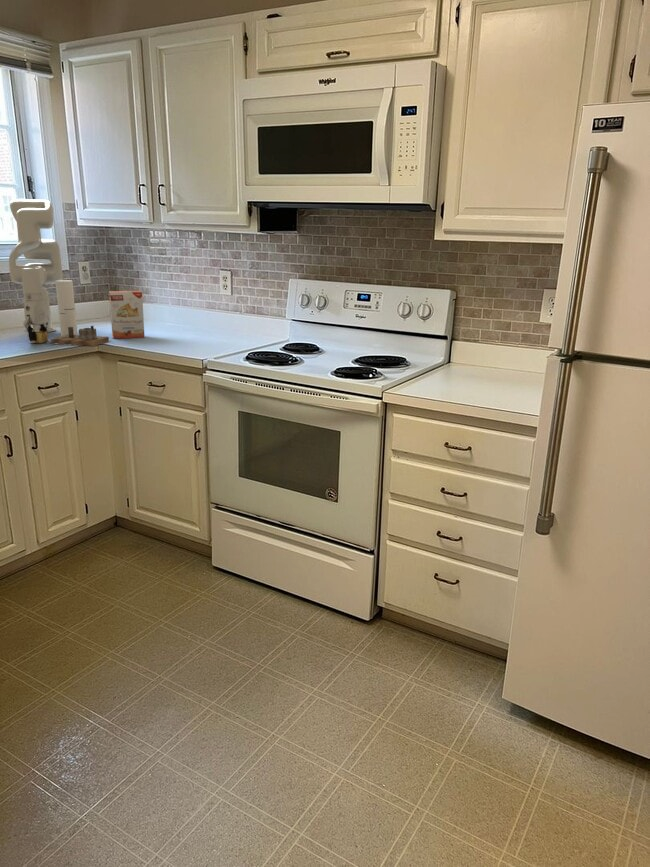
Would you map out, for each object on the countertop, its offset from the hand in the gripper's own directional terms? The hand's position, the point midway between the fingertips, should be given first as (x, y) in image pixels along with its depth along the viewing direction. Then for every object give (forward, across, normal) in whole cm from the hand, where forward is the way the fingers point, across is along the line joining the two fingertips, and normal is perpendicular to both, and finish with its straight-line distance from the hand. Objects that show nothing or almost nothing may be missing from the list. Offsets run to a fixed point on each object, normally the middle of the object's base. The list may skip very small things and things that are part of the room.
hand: (38, 338), depth 279 cm
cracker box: (+2, +24, -29) cm, 38 cm away
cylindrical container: (+2, +20, -2) cm, 20 cm away
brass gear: (+1, 0, 0) cm, 1 cm away
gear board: (+2, +6, -16) cm, 17 cm away
